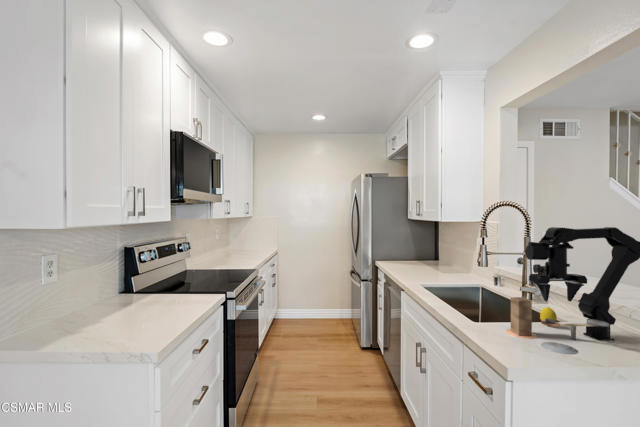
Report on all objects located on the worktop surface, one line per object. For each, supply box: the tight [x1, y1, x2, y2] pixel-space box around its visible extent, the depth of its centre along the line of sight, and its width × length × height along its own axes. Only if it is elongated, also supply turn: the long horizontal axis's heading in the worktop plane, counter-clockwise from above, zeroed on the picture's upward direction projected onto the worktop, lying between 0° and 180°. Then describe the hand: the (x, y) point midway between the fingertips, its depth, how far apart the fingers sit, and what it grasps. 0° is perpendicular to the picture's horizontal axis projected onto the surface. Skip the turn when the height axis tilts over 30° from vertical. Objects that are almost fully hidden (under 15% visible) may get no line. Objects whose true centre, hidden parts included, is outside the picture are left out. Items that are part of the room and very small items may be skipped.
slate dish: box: [540, 341, 579, 355], centre depth 105 cm, size 10×10×1 cm
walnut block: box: [510, 296, 533, 336], centre depth 118 cm, size 5×5×13 cm
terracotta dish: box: [505, 328, 538, 340], centre depth 118 cm, size 10×10×1 cm
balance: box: [540, 318, 609, 341], centre depth 113 cm, size 19×6×9 cm, turn 53°
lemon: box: [539, 306, 557, 328], centre depth 130 cm, size 6×6×8 cm
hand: (557, 301), depth 120 cm, fingers open, 9 cm apart
